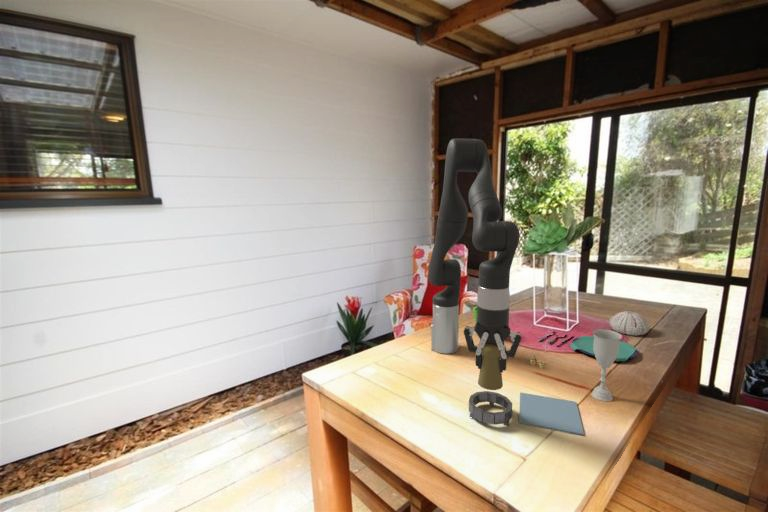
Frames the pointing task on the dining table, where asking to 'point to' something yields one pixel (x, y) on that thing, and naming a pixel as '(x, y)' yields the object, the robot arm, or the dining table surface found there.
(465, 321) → the dining table surface
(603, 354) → the chalice
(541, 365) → the dice set
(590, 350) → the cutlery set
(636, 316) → the sea urchin shell
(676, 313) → the dining table surface
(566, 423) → the rubber mat
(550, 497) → the dining table surface
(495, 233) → the robot arm
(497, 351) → the cork
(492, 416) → the grey segmented ring
